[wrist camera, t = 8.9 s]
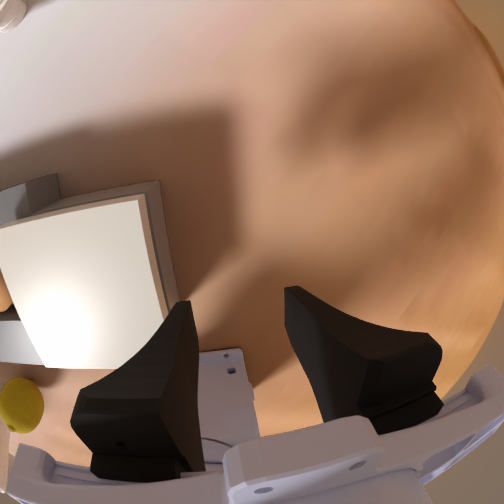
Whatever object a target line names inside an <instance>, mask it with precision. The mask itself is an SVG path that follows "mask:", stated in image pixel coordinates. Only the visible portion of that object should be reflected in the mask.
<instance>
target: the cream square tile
mask: <svg viewBox="0 0 504 504" xmlns="http://www.w3.org/2000/svg"><path fill="white" fill-rule="evenodd" d="M0 268H1V271H2V274H3V277H4V280H5V282H6V285H7V288H8V290H9V293H10V295H11V298H12V300H13V303H14V305H15V307H16V310H17V312H18V314H19V317H20V319H21V321H22V323H23V325H24V327H25V329H26V331H27V333H28V335H29V337H30V339H31V341H32V343H33V345H34V347H35V349H36V351H37V353H38V355H39V356H40V358H41V360H42V362H43V363H44V365H45V367H47V368H73V369H115V368H119V367H120V366H122V365H123V364H124V363H125V362H127V361H128V360H129V359H130V358H131V357H133V356H134V355H135V354H136V353H137V352H138V351H139V350H140V349H141V348H142V347H143V346H144V345H145V344H146V343H147V342H148V341H149V340H150V338H151V337H152V336H153V335H154V333H155V332H156V331H157V330H158V328H159V327H160V325H161V324H162V323H163V321H164V320H165V318H166V317H167V315H168V310H167V306H166V302H165V298H164V294H163V289H162V285H161V281H160V276H159V272H158V267H157V262H156V257H155V252H154V247H153V242H152V236H151V231H150V225H149V220H148V213H147V207H146V201H145V194H139V195H133V196H127V197H121V198H116V199H110V200H105V201H99V202H94V203H89V204H84V205H79V206H75V207H70V208H65V209H61V210H56V211H52V212H47V213H43V214H39V215H35V216H31V217H27V218H23V219H19V220H15V221H12V222H8V223H4V224H2V225H1V226H0Z"/></svg>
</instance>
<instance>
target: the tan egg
mask: <svg viewBox="0 0 504 504" xmlns="http://www.w3.org/2000/svg"><path fill="white" fill-rule="evenodd" d="M12 303H13V301H12V299H11V296H10V294H9V291H8V288H7V286H6V283H5V280H4V278H3V275H2V272H1V269H0V312H3V311H5V310H7V309H8V308H9V306H10V305H11V304H12Z"/></svg>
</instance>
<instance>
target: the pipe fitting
mask: <svg viewBox="0 0 504 504" xmlns="http://www.w3.org/2000/svg"><path fill="white" fill-rule="evenodd" d="M26 10H27V6H26V4H25V3H24V2H23V1H22V0H0V32H4V33H5V32H9V31H11V30H13V29H14V28H15V27H16V26H17V25H18V24H19V23H20V22H21V20H22V19H23V17H24V15H25V13H26Z"/></svg>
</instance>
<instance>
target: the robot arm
mask: <svg viewBox="0 0 504 504" xmlns="http://www.w3.org/2000/svg"><path fill="white" fill-rule="evenodd" d="M284 293H285V327H286V331H287V334H288V337H289V340H290V343H291V345H292V347H293V349H294V351H295V353H296V355H297V357H298V359H299V361H300V363H301V365H302V367H303V369H304V371H305V373H306V375H307V377H308V379H309V382H310V384H311V386H312V389H313V392H314V395H315V397H316V400H317V403H318V406H319V409H320V412H321V415H322V419H323V422H324V423H322V424H318V425H314V426H310V427H306V428H302V429H298V430H294V431H289V432H284V433H280V434H275V435H269V436H264V437H260V434H259V428H258V423H257V418H256V413H255V408H254V403H253V401H254V394H253V388H252V384H251V383H249V381H248V377H247V372H246V367H245V363H244V358H243V351H242V350H241V349H240V348H234V349H227V350H219V351H211V352H203V353H199V344H198V335H197V331H196V326H195V321H194V316H193V312H192V307H191V302H190V300H188V301H179V302H176V303H175V304H174V306H173V307H172V309H171V311H170V312H169V314H168V315H167V317H166V318H165V320H164V321H163V323H162V324H161V325H160V327H159V328H158V330H157V331H156V332H155V333H154V335H153V336H152V337H151V338H150V340H149V341H148V342H147V343H146V344H145V345H144V346H143V347H142V348H141V349H140V350H139V351H138V352H137V353H136V354H135V355H134V356H133V357H131V358H130V359H129V360H128V361H127V362H125V363H124V364H123V365H122V366H120V367H119V368H118V369H116V370H115V371H113V372H112V373H110V374H109V375H107V376H105V377H104V378H102V379H100V380H99V381H97V382H95V383H93V384H91V385H89V386H87V387H85V388H83V389H81V390H80V392H79V395H78V397H77V400H76V403H75V406H74V410H73V413H72V416H71V420H70V423H71V427H72V429H73V430H74V432H75V433H76V434H77V436H78V437H79V438H80V439H81V440H82V441H83V443H84V444H85V445H86V446H87V447H88V448H89V449H90V450H91V451H92V452H93V454H92V460H91V466H90V467H86V466H80V465H74V464H69V463H64V462H59V461H55V460H54V458H53V457H52V456H51V455H50V454H49V453H47V452H46V451H44V450H42V449H40V448H37V447H33V446H29V445H25V444H22V443H21V444H19V446H18V449H17V452H16V456H15V459H14V462H13V466H12V469H11V472H10V476H9V480H8V484H7V487H6V493H7V494H8V495H10V496H11V497H13V498H14V499H16V500H17V501H18V502H20V503H21V504H433V503H432V501H431V499H430V498H429V496H428V494H427V492H426V491H425V489H424V487H423V485H424V484H426V483H427V482H429V481H431V480H432V479H434V478H435V477H436V476H438V475H440V474H441V473H442V472H444V471H445V470H447V469H448V468H450V467H451V466H452V465H453V464H455V463H457V462H458V461H459V460H461V459H462V458H463V457H464V456H465V455H467V454H468V453H469V452H471V451H472V450H473V449H475V448H476V447H477V446H478V445H480V444H481V443H482V442H483V441H485V440H486V439H487V438H488V437H489V436H490V435H492V434H493V433H494V432H495V431H496V430H497V428H498V427H499V426H500V425H501V424H502V422H503V421H504V377H503V376H502V375H501V374H500V373H499V372H498V371H497V370H496V369H495V368H494V367H493V366H492V365H491V364H488V365H486V366H485V367H483V368H482V369H480V370H479V371H477V372H476V373H475V374H474V375H473V376H472V377H471V378H470V380H469V381H468V383H467V385H466V388H465V389H463V390H462V391H460V392H458V393H457V394H455V395H453V396H451V397H450V398H448V399H446V400H444V401H443V402H442V401H441V400H440V398H439V397H438V396H437V394H436V393H435V392H434V391H435V390H436V385H435V384H434V383H433V382H432V380H433V378H434V376H435V374H436V372H437V369H438V367H439V365H440V362H441V359H442V348H441V346H440V345H439V344H438V343H437V342H436V341H435V340H434V339H433V338H432V337H431V336H430V335H429V334H428V333H423V332H411V331H403V330H397V329H392V328H387V327H383V326H379V325H376V324H372V323H369V322H366V321H363V320H360V319H358V318H355V317H353V316H350V315H348V314H346V313H344V312H342V311H340V310H338V309H336V308H334V307H332V306H330V305H329V304H327V303H325V302H324V301H322V300H320V299H319V298H317V297H315V296H314V295H312V294H311V293H309V292H307V291H306V290H304V289H303V288H301V287H299V286H292V287H286V288H284ZM225 354H228V355H225Z"/></svg>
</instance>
